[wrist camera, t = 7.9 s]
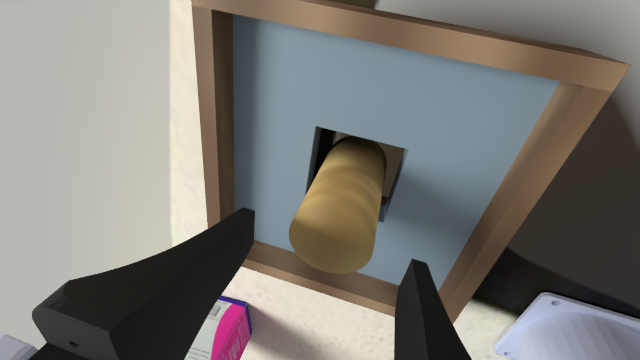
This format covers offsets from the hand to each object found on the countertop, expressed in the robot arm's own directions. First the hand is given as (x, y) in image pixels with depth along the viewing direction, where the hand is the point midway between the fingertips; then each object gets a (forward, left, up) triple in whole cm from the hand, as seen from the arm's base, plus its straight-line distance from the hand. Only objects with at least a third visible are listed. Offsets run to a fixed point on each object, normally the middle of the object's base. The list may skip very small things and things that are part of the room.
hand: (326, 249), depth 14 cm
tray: (0, 0, -8) cm, 9 cm away
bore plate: (0, 0, -8) cm, 9 cm away
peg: (0, 0, -8) cm, 9 cm away
